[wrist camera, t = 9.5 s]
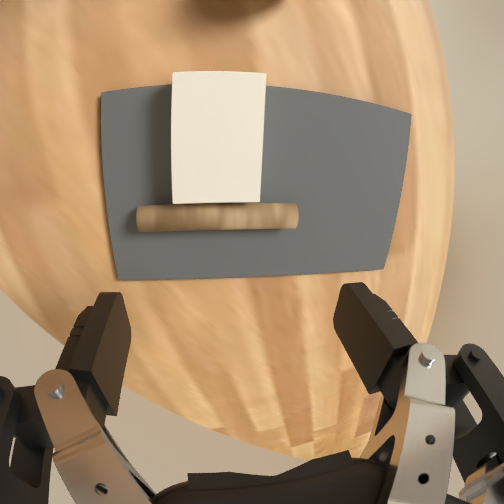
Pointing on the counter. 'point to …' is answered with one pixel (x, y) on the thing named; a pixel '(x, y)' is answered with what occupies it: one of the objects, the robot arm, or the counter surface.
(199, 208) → the dowel
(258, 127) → the tile
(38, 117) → the counter surface
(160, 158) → the mat
